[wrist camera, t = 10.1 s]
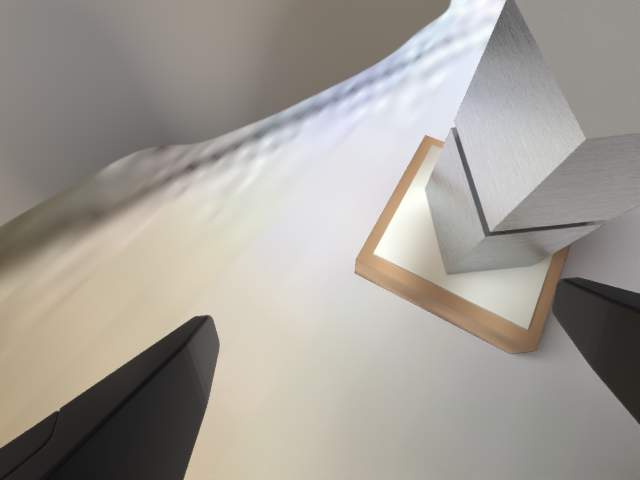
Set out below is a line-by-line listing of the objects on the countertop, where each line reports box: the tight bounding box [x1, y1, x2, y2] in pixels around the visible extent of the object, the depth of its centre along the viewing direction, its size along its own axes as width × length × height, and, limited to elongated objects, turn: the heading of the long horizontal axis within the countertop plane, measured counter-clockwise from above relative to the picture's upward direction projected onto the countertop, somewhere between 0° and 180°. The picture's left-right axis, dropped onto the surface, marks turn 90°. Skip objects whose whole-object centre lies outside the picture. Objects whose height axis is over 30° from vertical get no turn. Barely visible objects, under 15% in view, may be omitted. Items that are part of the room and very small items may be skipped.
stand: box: [355, 135, 570, 354], centre depth 21 cm, size 11×11×3 cm
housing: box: [425, 0, 640, 275], centre depth 14 cm, size 6×5×12 cm
